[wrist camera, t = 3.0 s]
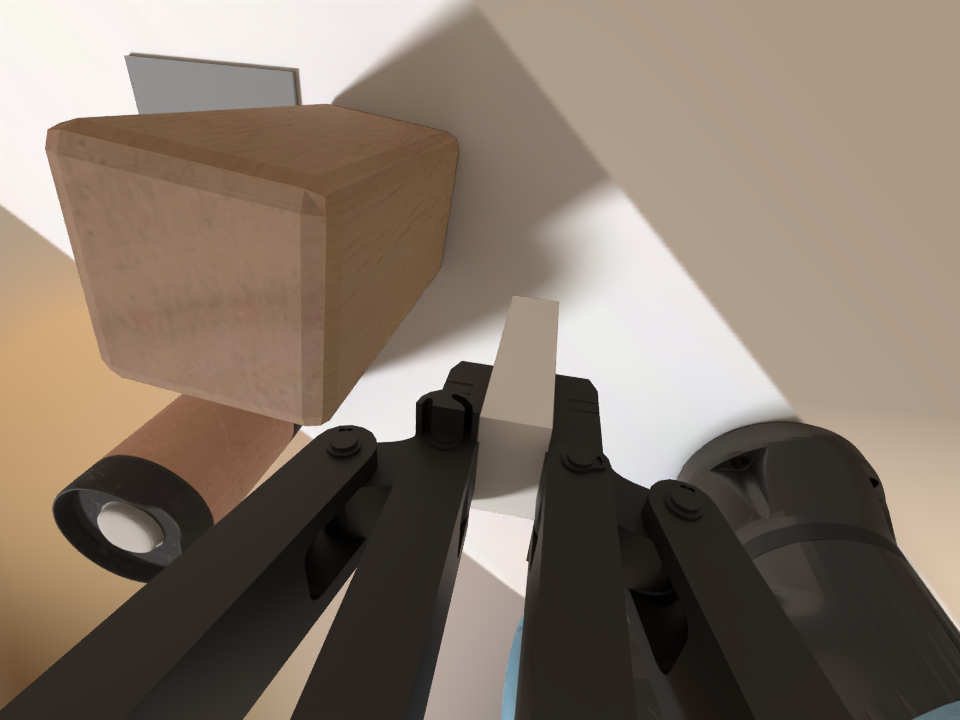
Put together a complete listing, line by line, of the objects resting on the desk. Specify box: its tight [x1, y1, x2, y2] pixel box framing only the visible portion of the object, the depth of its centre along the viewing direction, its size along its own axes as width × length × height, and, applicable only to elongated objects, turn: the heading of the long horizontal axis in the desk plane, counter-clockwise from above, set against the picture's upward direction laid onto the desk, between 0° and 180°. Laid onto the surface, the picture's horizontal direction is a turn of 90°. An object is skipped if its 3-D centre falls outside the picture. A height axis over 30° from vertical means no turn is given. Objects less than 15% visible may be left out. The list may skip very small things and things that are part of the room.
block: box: [45, 104, 459, 426], centre depth 25 cm, size 10×10×20 cm
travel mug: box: [52, 394, 302, 583], centre depth 34 cm, size 8×8×20 cm
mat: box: [124, 55, 298, 115], centre depth 35 cm, size 12×15×1 cm
